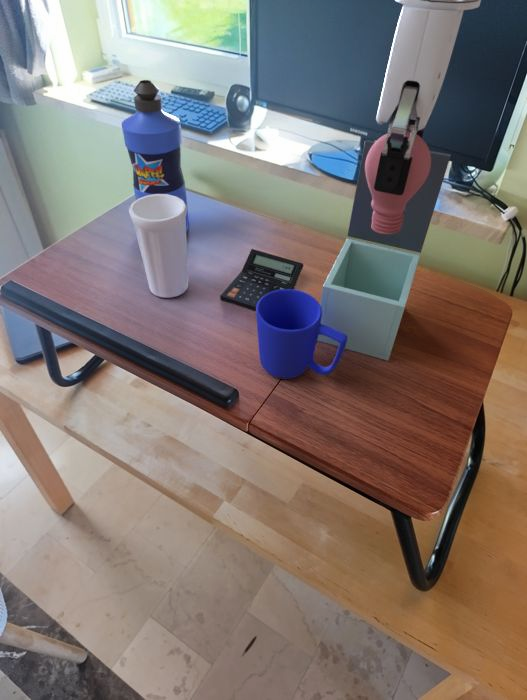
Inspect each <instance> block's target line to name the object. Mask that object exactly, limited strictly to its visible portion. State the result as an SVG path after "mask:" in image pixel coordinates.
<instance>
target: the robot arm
mask: <svg viewBox="0 0 527 700" xmlns="http://www.w3.org/2000/svg"><path fill="white" fill-rule="evenodd" d="M394 1H395V2H396V3H399V4H401V5H402V7H401V11H400V14H399V17H398V21H397V24H396V25H397V26H396V28H395V32H394V36H393V41H392V45H391V50H390V54H389V58H388V63H387V67H386V72H385V77H384V81H383V86H382V89H381V90H382V91H381V94H380V100H379V104H378V108H377V113H376V117H375V121H376V123H377V124H378V125H379V126H380V125H381V126H382V125H383V124H384V123H385V124H387V123H388V121H389V120H390V121H389V125H388V128H387V133H386V134H387V136H386V140H385V144H384V148H383V152H381V155H380V160H379V165H378V170H377V175H376V180H375V185H374V189H375V190H376V191H380V192H385V193H390V194H395V195H402V194H403V193H404V190H405V186H406V182H407V178H408V174H409V170H410V166H411V163H412V159H413V157H410V155H411V152H412V148H413V145H414V141H415V137H416V134H417V135H418V136H420V137H421V138H422V139H423V135H424V131H425V130H423V129H425V128H426V125H427V124H428V121H429V119H430V116H431V115H432V113H433V110H434V108H435V105H436V103H437V100H438V97H439V95H440V92H441V90H442V87H443V83H444V81H445V77H446V74H447V72H448V68H449V65H450V61H451V59H452V58H451V57H452V54H453V51H454V47H455V43H456V40H457V37H458V33H459V29H460V26H461V22H462V18H463V14H464V12H465V11H469V10H474V9H478V8H479V7H480V6H481V2H482V0H394ZM406 132H408V133H410V137H409V141H408V137H405V135H406ZM407 143H408V144H407Z"/></svg>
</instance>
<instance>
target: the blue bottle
mask: <svg viewBox="0 0 527 700" xmlns="http://www.w3.org/2000/svg"><path fill="white" fill-rule="evenodd" d="M133 92H134V94H136V95H135V96H134V97H133V101H134V102H133V103H134V108H135V110H136V111H135V113H134V114H132V115H130V116H128V117H126V118H124V120H122V122H121V129H122V136H123V140H124V146H125V147H126V150H127V154H128V157H129V160H130V163H131V164H130V165H131V167H132V182H133V183H132V185H133V192H134V197H135V201H136V200H137V199H139V198H142V197H144V196H147V195H154V194H168V195H172V196H176V197H178V198H180V199H181V200H183V201H184V203H185V205H186V206H187V207H188V201H187V190H186V181H185V177H184V174H183V170H182V143H183V139H182V127H181V126H182V125H181V121H180V119H179V118H178V117H176V116H174V115H172V114H169V113H167V112H165V111H164V110H162V109H163V99H162V96H161V95H160V94H158V93H159V92H160V88H159V87H158V86H157V85H156V84H155V83H154V82H153V81H151V80H150V79H142V80H140V81H138V83H137V85H136V86H135V87H134V89H133ZM188 211H189V210H188V208H187V212H186V218H185V219H186V233H187V232H189V231H188V230H189V229H190V222H189V221H190V220H189V213H188Z"/></svg>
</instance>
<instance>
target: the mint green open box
mask: <svg viewBox="0 0 527 700" xmlns="http://www.w3.org/2000/svg"><path fill="white" fill-rule="evenodd" d="M420 256H421V254H418V253H416V252H411V251H407V250H406V251H405V250H401V249H397V248H396V249H395V248H392V247H388V246H383V245H379V244H376V243H375V244H374V243H372V242H371V243H370V242H366V241H361V240H357V239H354V238H350V237H347V238H346V240H345V242H344V244H343V246H342V248H341V249H340V252H339V254H338V256H337V258H336V259H335V262H334V263H333V265H332V268H331V270H330V271H329V273H328V275H327V277H326V279H325V281H324V283H323V285H322V290H321V295H320V303H319V304H320V306H321V309H322V317H321V324H322V325H326V326H329V327H331V328H333V329H336V330H338V331H340V332H342V333H344V334H346V335H347V337H348V338H347V343H346V346H345V349H346V350H347V351H353V352H356V353H358V354H363V355H366V356H370V357H373V358H377V359H381V360H383V361H389V360H390V357H391V354H392V351H393V347H394V344H395V341H396V337H397V335H398V331H399V328H400V324H401V321H402V318H403V315H404V311H405V310H406V305H407V301H408V298H409V295H410V291H411V288H412V285H413V281H414V278H415V274H416V271H417V267H418V263H419V260H420V258H421V257H420ZM317 342H321V343H324V344H327V345H328V344H329V345H332V346H335V347H337V348H338V347H339V342H338V341H336V340H334V339H332V338H330V337H327V336H325V335H319V336H318V339H317ZM345 349H344V350H345Z"/></svg>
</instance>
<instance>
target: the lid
mask: <svg viewBox="0 0 527 700" xmlns="http://www.w3.org/2000/svg"><path fill="white" fill-rule="evenodd" d="M376 141H377V140H372V139H365V141H364V143H363V149H362V154H361V160H360V166H359V171H358V175H357V182H356V187H355V193H354V199H353V202H352V203H353V204H352V209H351V214H350V220H349V224H348V231H347V235H346V236H347V237H348V238H352V239H356V240H357V239H358V240H363V241H365V242H366V241H367V242H371V243H375V244H378V245H379V244H380V245H385V246H387V247H388V246H389V247H391V248H392V247H393V248H396V249H397V248H398V249H400V250H401V249H402V250H406V251H409V252H413V253H422V250H423V248H424V244H425V241H426V237H427V234H428V231H429V227H430V225H431V224H430V223H431V221H432V217H433V214H434V211H435V208H436V205H437V202H438V198H439V195H440V192H441V188H442V185H443V181H444V179H445V176H446V173H447V170H448V166H449V163H450V159H451V154H450V153H444V152H441V151H440V152H439V151H434V150H429V151H430V155H431V167H430V171H429V174H428V177H427V179H426V180H425V182H424V184H423V185H422V186H421V187H420V188H419V190H418V191H417V192H416V193H415V194H414V196H413V197H412V198H411V199H410V200H409V201H408V202H407V203H406V207H405V210H404V211H403V214H404V218H403V222H402V226H401V228H400V231H399V232H397V233H394V234H380V233H377V232H375V231H373V230H372V228H371V224H372V214H373V211H374V210H373V208H372V206H371V201H372V194H371V192H370V189H369V186H368V182H367V178H366V174H365V162H366V158H367V155H368V152H369V150H370V149H371V147H372V145H373V144H374V143H375V142H376Z"/></svg>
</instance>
